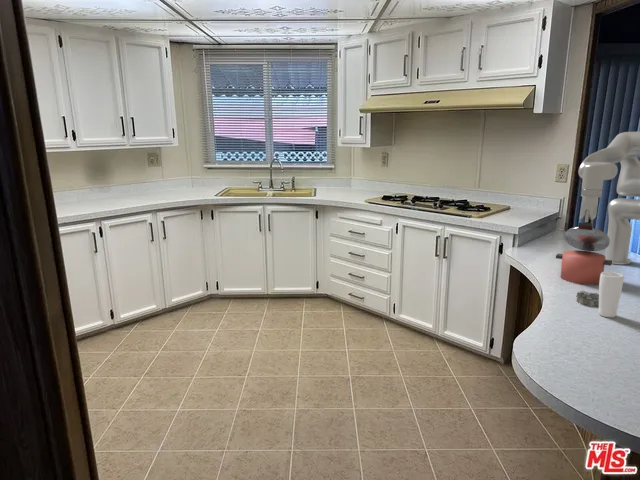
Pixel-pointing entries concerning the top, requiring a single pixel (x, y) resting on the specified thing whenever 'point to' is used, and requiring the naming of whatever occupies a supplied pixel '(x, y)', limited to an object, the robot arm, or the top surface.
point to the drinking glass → (609, 293)
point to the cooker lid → (587, 238)
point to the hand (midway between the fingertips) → (587, 234)
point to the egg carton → (588, 298)
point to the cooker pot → (582, 266)
